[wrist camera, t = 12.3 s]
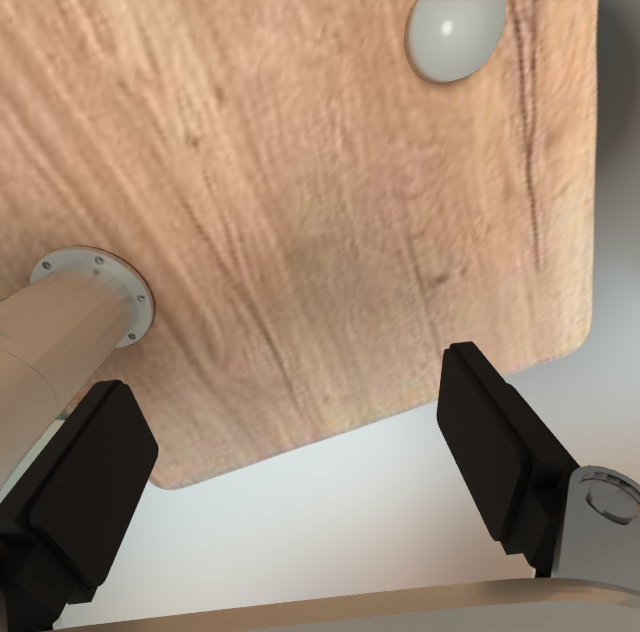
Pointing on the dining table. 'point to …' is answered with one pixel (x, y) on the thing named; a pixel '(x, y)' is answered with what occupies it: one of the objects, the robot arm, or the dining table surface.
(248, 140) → the dining table surface
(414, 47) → the pale grey dome
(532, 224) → the dining table surface
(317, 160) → the dining table surface
